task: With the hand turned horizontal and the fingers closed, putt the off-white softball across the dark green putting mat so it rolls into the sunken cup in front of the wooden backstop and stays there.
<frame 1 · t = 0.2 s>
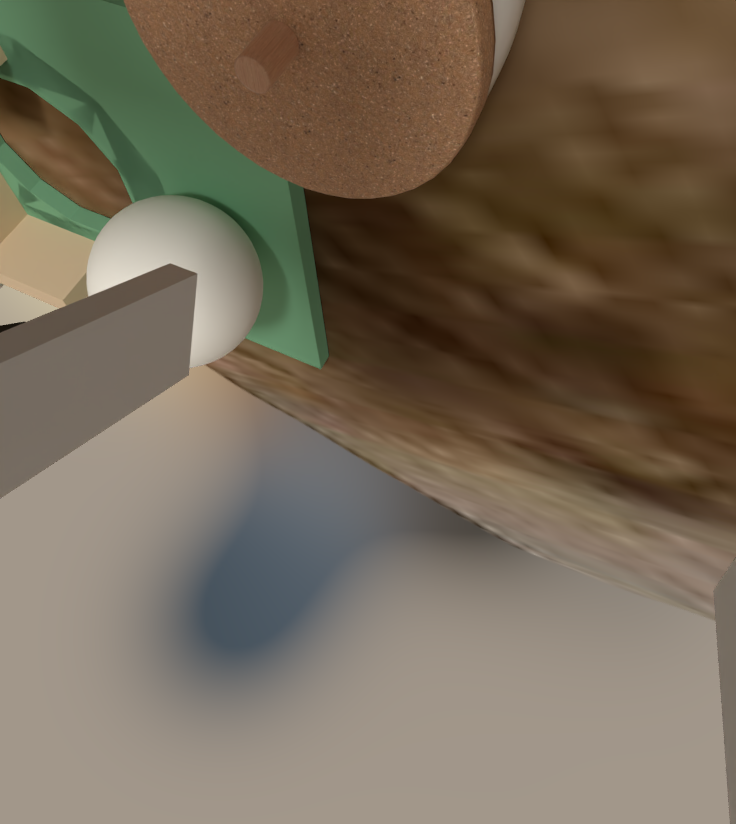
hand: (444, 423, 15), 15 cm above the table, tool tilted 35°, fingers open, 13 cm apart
ball: (177, 283, 37), point 6 cm above the table, touching green
green: (63, 148, 42), on the table
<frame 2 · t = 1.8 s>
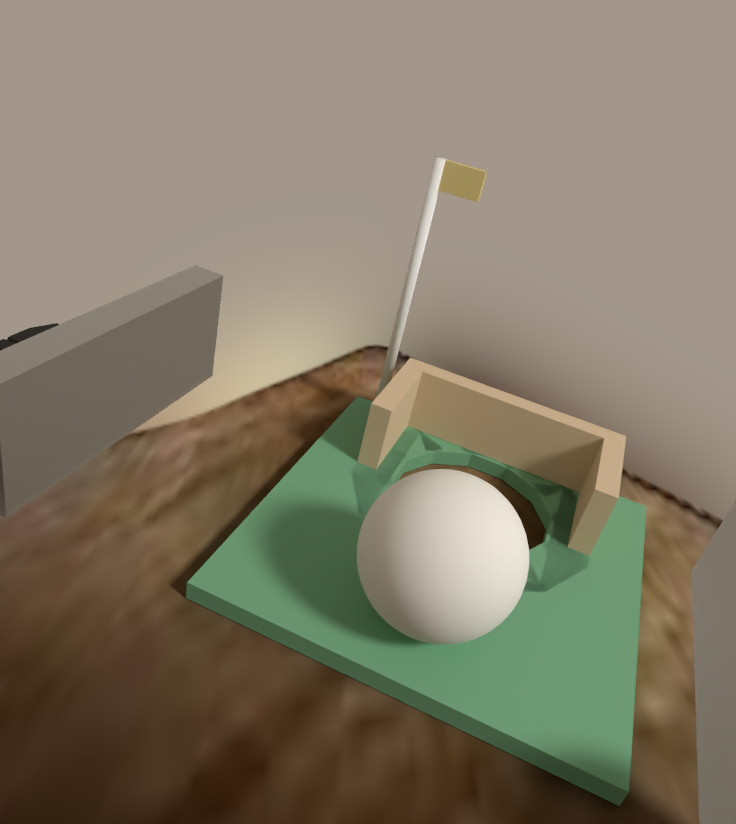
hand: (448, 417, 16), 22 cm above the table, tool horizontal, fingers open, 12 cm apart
ball: (441, 554, 37), point 6 cm above the table, touching green
green: (467, 511, 50), on the table
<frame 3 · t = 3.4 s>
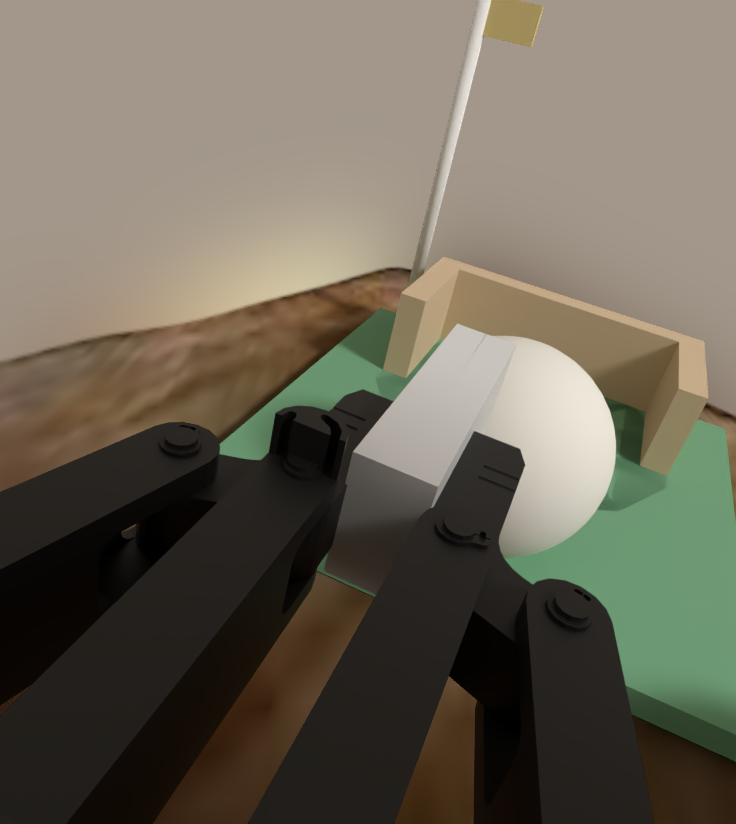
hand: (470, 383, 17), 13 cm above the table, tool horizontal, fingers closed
ball: (499, 445, 29), point 6 cm above the table, touching green
green: (515, 429, 41), on the table
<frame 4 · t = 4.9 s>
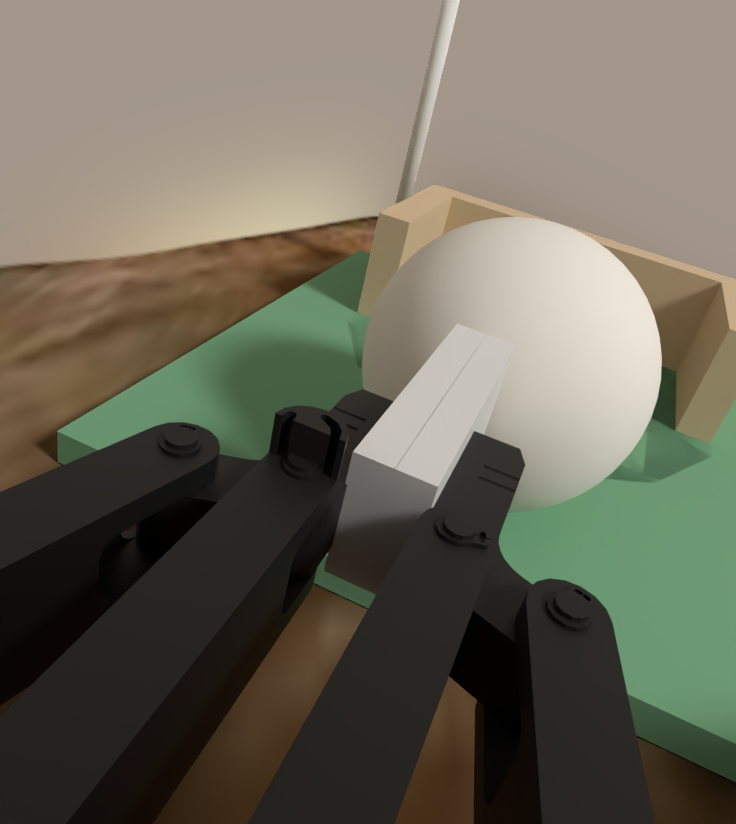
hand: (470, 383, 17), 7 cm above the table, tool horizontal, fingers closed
ball: (505, 366, 22), point 6 cm above the table, tilted 14°, touching green
green: (519, 387, 34), on the table
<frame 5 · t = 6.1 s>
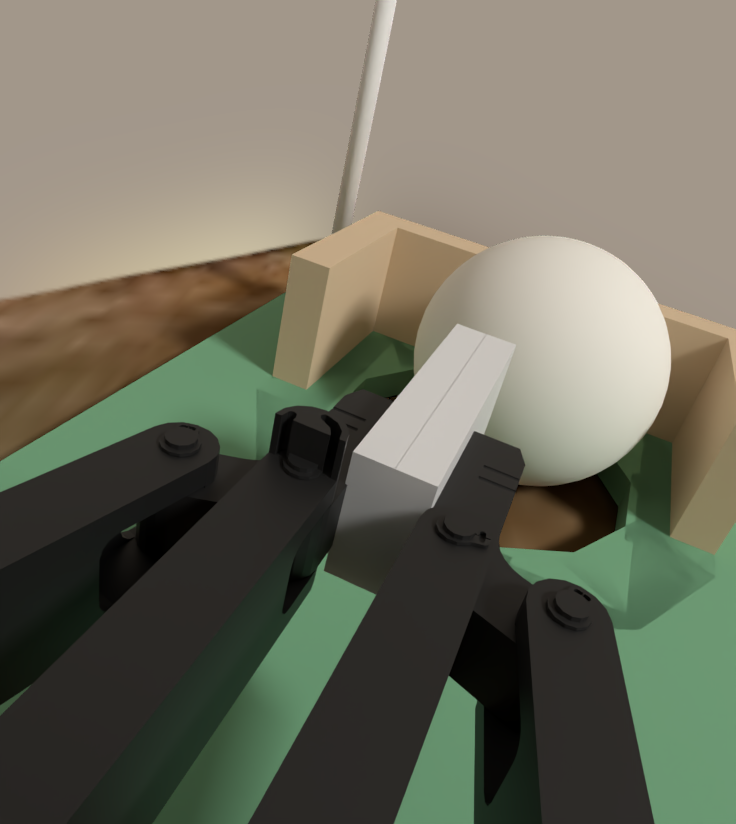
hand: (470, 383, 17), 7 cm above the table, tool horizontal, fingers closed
ball: (536, 362, 25), point 4 cm above the table, tilted 147°
green: (474, 470, 27), on the table
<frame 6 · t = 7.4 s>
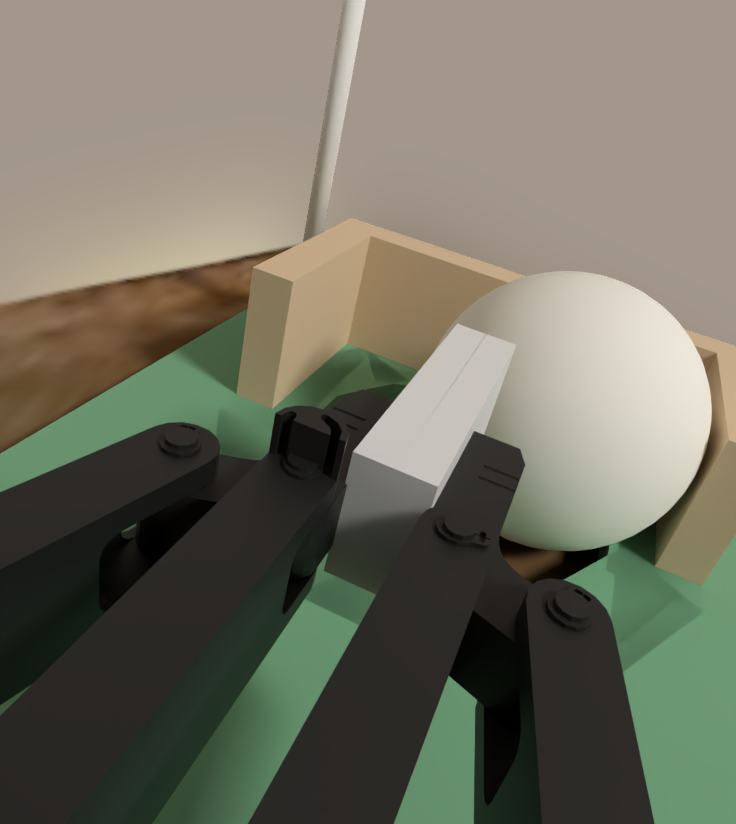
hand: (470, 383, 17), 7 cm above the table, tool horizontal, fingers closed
ball: (558, 411, 23), point 4 cm above the table, tilted 122°
green: (450, 493, 25), on the table
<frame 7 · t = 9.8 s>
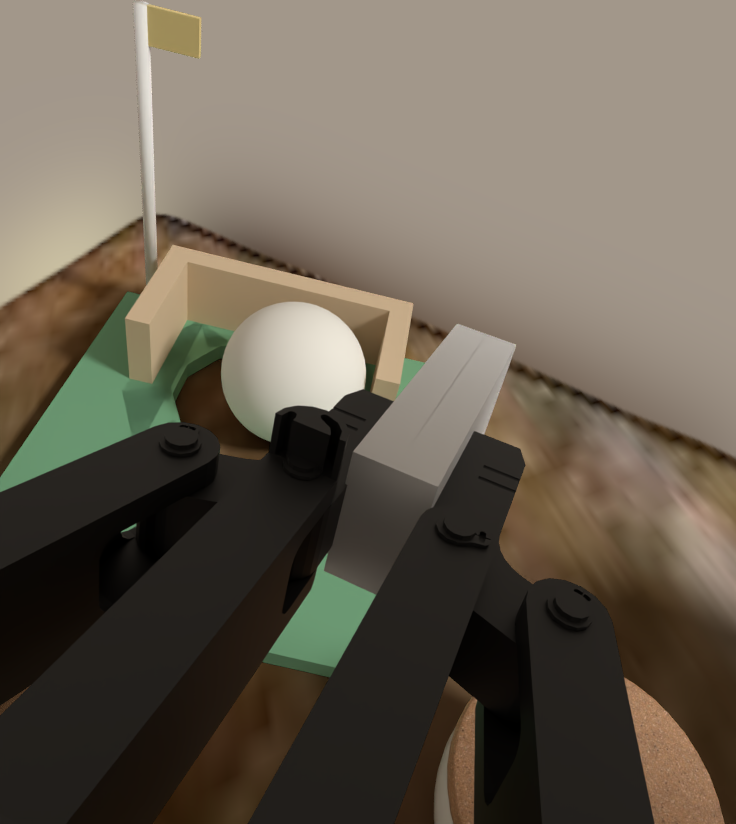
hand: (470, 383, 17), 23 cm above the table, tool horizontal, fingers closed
ball: (294, 374, 44), point 4 cm above the table, tilted 123°
green: (259, 410, 47), on the table
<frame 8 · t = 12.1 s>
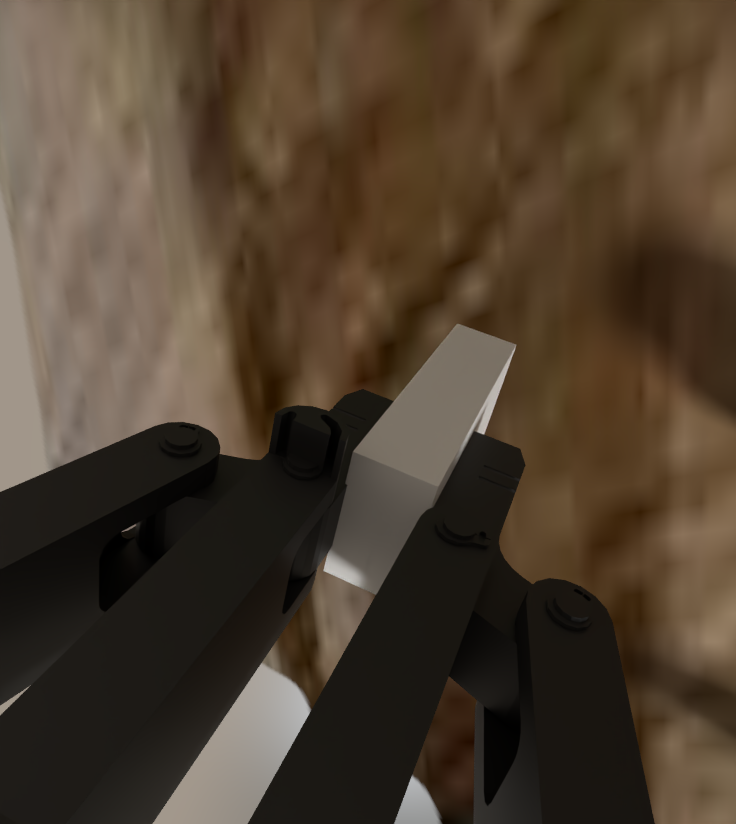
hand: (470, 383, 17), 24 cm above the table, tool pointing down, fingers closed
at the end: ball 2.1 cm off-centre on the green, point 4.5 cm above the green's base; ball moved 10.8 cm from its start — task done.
